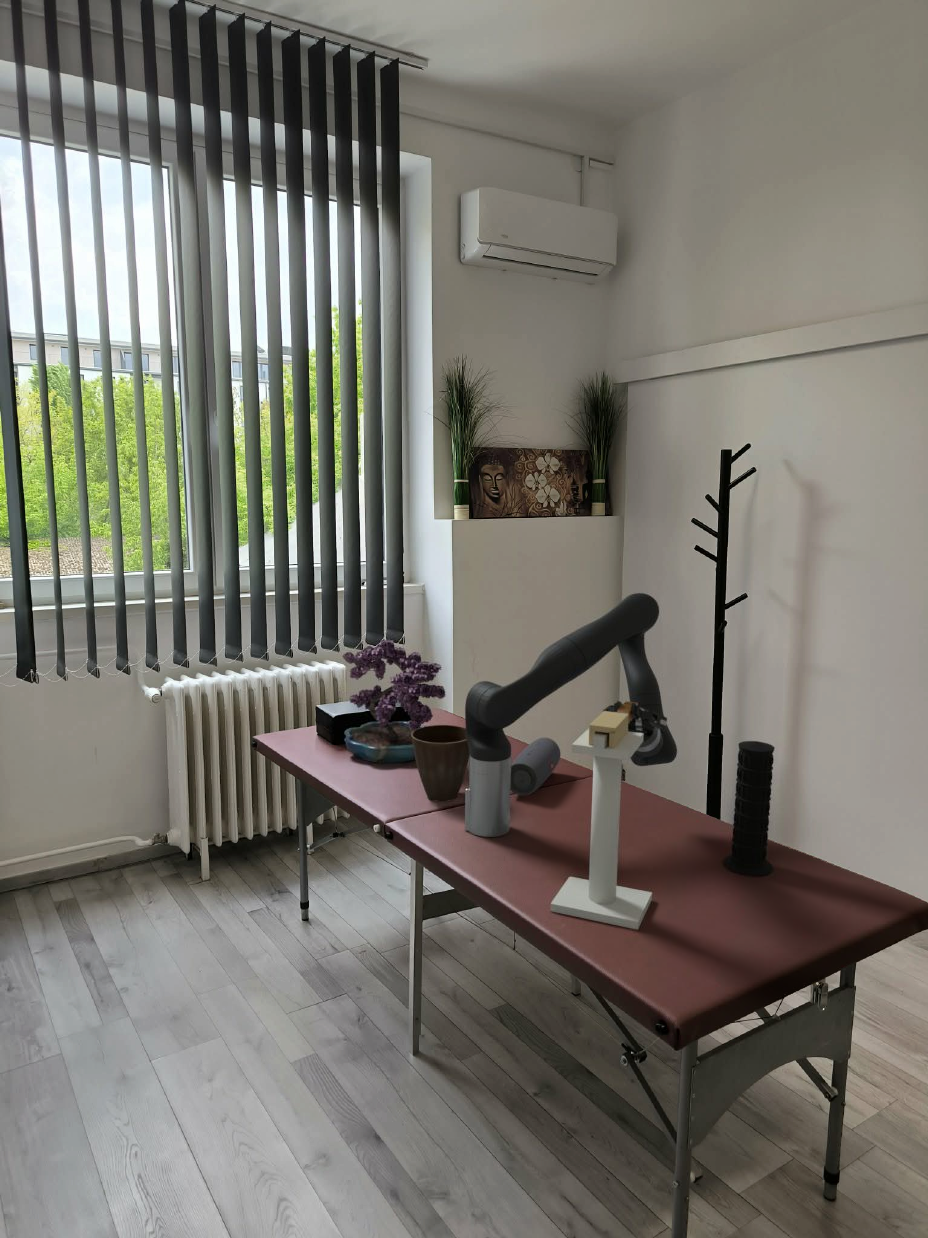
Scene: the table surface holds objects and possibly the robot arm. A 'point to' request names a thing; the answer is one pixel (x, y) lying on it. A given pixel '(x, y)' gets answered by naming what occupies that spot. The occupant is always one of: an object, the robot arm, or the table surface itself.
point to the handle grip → (752, 810)
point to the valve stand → (605, 833)
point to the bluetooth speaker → (534, 766)
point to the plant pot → (441, 759)
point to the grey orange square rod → (603, 738)
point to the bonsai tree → (391, 703)
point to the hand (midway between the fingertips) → (625, 707)
